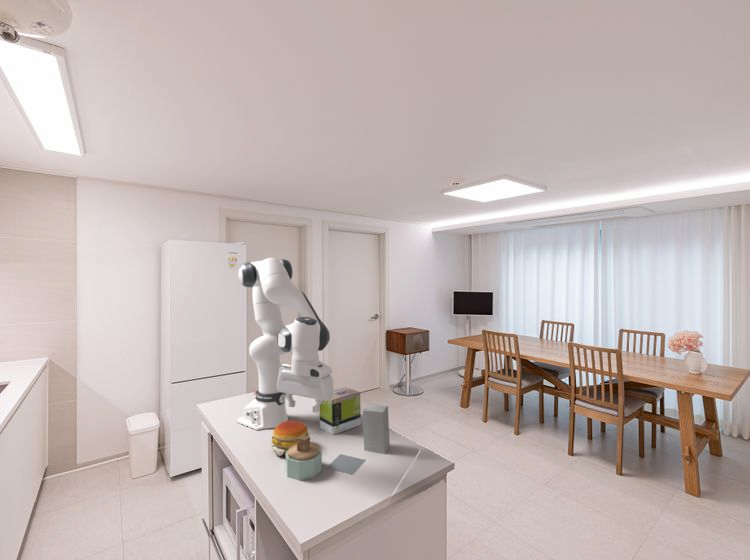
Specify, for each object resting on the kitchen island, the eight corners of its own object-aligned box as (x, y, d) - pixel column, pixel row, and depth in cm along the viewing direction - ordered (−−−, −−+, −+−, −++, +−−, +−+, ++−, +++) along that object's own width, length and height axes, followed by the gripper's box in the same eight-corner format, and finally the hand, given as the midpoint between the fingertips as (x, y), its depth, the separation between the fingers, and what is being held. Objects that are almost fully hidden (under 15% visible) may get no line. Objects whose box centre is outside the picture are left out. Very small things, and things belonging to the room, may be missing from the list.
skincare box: (389, 447, 130) (390, 405, 130) (384, 456, 124) (384, 411, 124) (368, 443, 133) (368, 402, 133) (361, 452, 126) (362, 408, 126)
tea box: (347, 419, 157) (347, 386, 157) (361, 426, 149) (361, 391, 149) (318, 428, 147) (318, 393, 147) (332, 436, 140) (332, 399, 140)
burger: (315, 445, 132) (315, 418, 132) (294, 462, 119) (294, 433, 119) (286, 438, 137) (286, 413, 137) (263, 454, 124) (263, 426, 124)
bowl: (279, 475, 111) (279, 456, 111) (299, 459, 121) (299, 442, 121) (307, 483, 106) (308, 464, 107) (326, 466, 117) (327, 448, 117)
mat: (325, 469, 115) (325, 467, 115) (340, 455, 124) (340, 454, 124) (352, 475, 111) (352, 474, 111) (365, 461, 120) (365, 459, 120)
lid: (281, 456, 111) (281, 440, 111) (300, 443, 120) (300, 428, 120) (307, 463, 107) (307, 447, 107) (324, 448, 116) (324, 434, 116)
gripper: (273, 365, 115) (272, 406, 115) (326, 373, 107) (324, 418, 107) (285, 361, 121) (284, 400, 121) (336, 369, 113) (335, 411, 113)
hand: (303, 409), depth 114 cm, fingers open, 8 cm apart
